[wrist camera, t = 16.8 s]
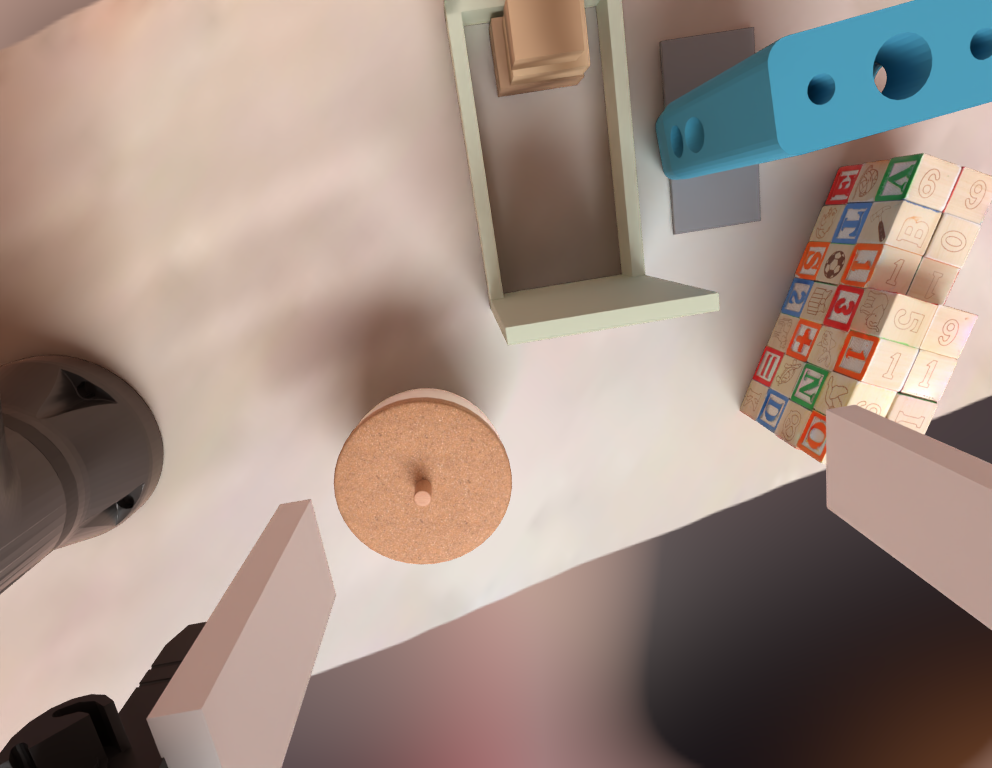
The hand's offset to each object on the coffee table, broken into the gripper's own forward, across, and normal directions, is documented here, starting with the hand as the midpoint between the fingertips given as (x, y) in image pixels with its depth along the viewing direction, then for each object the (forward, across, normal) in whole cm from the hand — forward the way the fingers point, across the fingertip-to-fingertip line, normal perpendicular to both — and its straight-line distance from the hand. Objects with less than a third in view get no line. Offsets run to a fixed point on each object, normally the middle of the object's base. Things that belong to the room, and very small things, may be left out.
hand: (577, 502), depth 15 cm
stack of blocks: (+35, +28, -4) cm, 45 cm away
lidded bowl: (+35, -7, -10) cm, 37 cm away
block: (+34, +19, +11) cm, 41 cm away
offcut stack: (+35, +6, +18) cm, 40 cm away
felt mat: (+35, +19, +11) cm, 41 cm away
